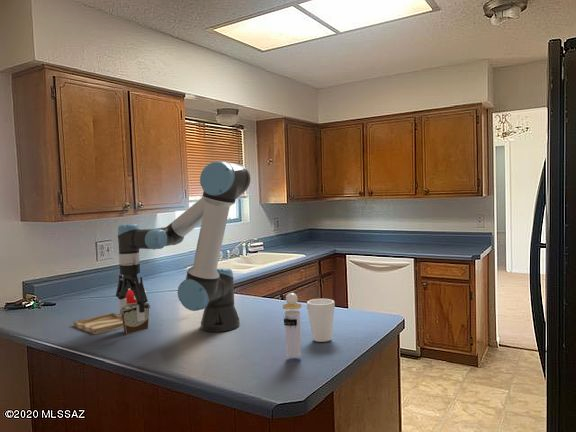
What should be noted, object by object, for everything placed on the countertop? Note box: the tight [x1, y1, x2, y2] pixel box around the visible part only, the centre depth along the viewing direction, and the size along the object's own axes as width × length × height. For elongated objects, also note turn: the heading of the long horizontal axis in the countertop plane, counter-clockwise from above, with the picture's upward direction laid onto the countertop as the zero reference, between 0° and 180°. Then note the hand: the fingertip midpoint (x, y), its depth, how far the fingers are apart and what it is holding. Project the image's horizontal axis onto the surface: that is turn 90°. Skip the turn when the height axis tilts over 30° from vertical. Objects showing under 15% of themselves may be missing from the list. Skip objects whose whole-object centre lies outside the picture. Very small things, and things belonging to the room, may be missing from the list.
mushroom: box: [124, 288, 147, 305], centre depth 200 cm, size 11×11×12 cm
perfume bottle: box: [282, 292, 302, 358], centre depth 138 cm, size 6×6×20 cm
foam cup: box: [306, 298, 336, 343], centre depth 155 cm, size 10×9×13 cm
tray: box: [72, 312, 124, 335], centre depth 185 cm, size 20×17×2 cm
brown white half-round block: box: [119, 302, 151, 336], centre depth 175 cm, size 12×6×10 cm, turn 141°
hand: (132, 317), depth 175 cm, fingers open, 13 cm apart
